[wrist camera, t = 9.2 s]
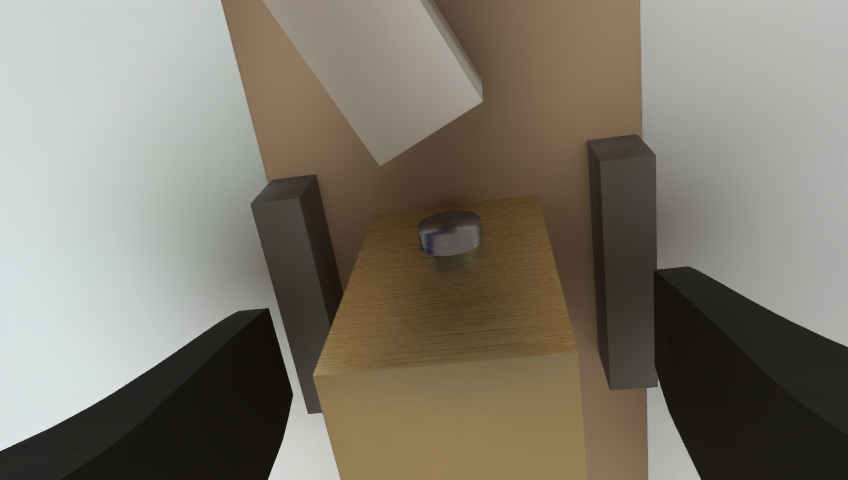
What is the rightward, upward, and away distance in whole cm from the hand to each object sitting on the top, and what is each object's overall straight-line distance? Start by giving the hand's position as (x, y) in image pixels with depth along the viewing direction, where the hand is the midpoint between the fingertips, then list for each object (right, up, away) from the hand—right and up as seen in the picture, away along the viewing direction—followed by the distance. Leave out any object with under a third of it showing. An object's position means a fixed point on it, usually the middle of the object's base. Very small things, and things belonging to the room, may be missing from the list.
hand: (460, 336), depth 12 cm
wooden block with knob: (0, +1, +3) cm, 3 cm away
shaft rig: (0, +2, +4) cm, 4 cm away
